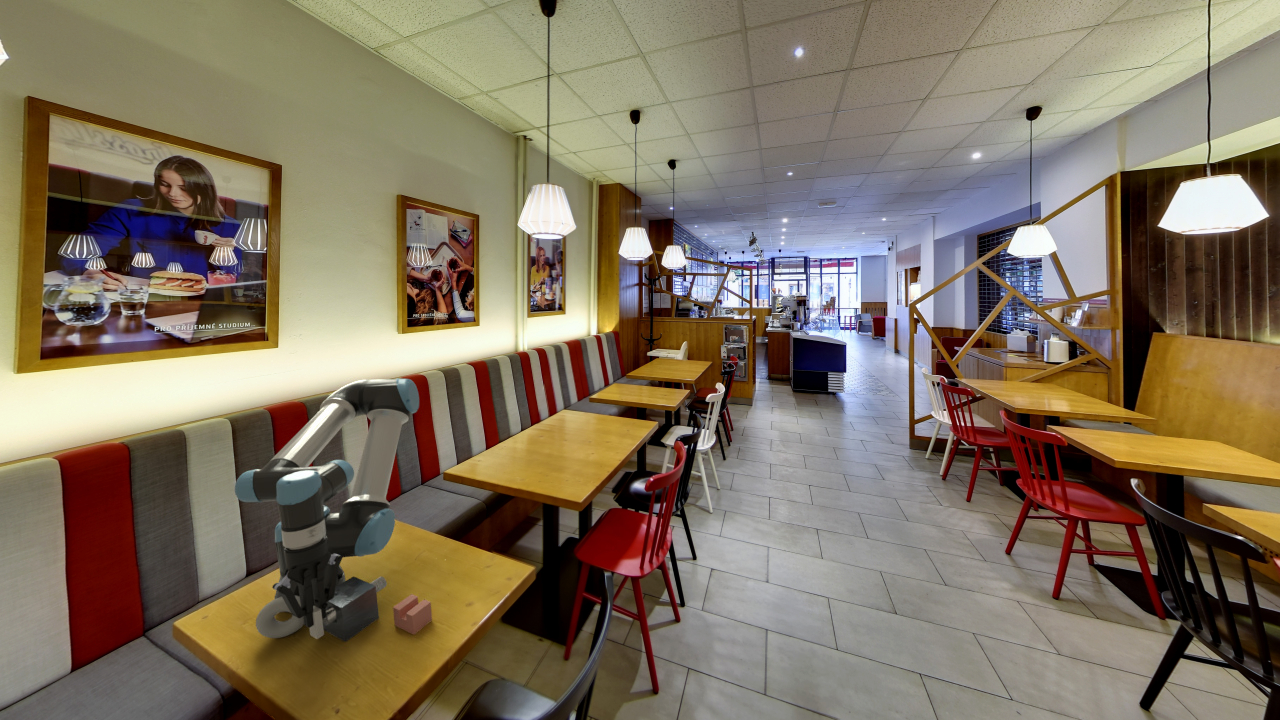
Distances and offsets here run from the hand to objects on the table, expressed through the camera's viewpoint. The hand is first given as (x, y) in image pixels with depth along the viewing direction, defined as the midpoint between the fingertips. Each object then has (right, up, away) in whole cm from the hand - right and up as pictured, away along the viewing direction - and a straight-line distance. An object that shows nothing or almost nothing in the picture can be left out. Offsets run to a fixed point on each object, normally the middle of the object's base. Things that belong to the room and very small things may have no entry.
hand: (317, 634), depth 93 cm
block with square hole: (+3, -2, +7) cm, 8 cm away
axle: (+3, +4, +8) cm, 9 cm away
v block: (+18, -2, +7) cm, 20 cm away
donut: (-11, -3, +4) cm, 12 cm away
